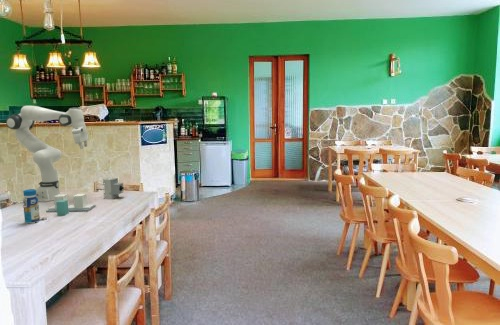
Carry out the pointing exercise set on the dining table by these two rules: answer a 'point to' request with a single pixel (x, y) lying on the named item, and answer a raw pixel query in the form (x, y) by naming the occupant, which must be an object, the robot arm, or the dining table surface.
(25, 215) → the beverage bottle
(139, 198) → the dining table surface
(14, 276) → the dining table surface
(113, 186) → the circuit breaker
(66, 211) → the block
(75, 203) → the mounting panel
